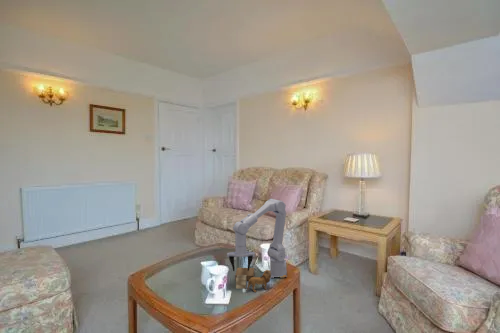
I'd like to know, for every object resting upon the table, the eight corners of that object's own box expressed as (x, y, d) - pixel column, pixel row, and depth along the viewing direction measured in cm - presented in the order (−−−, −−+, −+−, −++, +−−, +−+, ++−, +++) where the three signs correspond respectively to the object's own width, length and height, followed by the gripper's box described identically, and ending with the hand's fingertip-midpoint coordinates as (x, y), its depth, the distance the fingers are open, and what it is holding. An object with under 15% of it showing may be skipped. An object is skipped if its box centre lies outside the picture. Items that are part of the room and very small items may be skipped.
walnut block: (254, 273, 155) (254, 268, 154) (253, 281, 145) (253, 275, 144) (237, 273, 155) (237, 267, 155) (235, 281, 145) (235, 275, 145)
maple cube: (246, 284, 141) (246, 275, 141) (245, 288, 136) (245, 279, 136) (237, 284, 142) (237, 274, 142) (236, 288, 137) (235, 279, 137)
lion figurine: (268, 283, 141) (268, 267, 141) (273, 288, 137) (273, 271, 136) (243, 290, 135) (243, 273, 134) (248, 295, 130) (248, 277, 130)
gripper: (254, 242, 142) (254, 266, 143) (227, 242, 142) (227, 267, 142) (254, 246, 135) (255, 272, 136) (226, 247, 135) (227, 273, 135)
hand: (241, 270), depth 139 cm, fingers open, 7 cm apart
